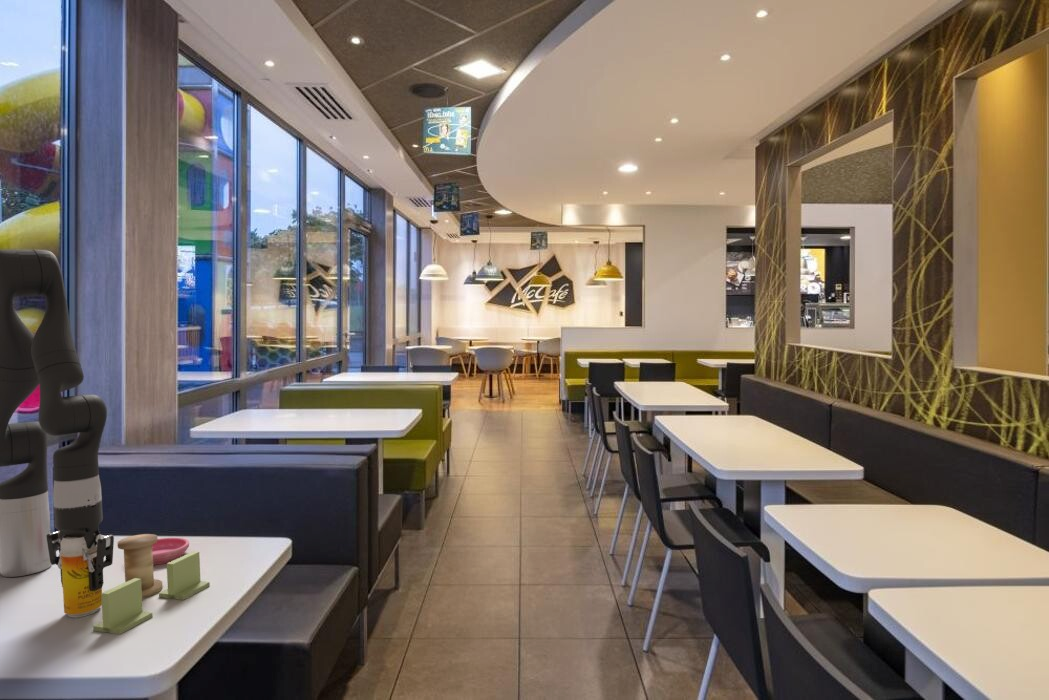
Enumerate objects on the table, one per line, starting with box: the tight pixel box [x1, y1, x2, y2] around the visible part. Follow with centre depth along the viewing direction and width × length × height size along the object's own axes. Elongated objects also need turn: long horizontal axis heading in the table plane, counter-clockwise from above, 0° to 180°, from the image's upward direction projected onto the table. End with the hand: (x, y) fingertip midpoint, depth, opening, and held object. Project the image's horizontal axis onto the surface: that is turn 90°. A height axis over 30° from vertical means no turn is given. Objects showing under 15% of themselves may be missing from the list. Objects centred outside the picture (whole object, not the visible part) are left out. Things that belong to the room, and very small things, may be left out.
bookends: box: [92, 550, 211, 635], centre depth 126 cm, size 6×22×7 cm, turn 164°
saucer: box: [152, 537, 190, 566], centre depth 153 cm, size 12×12×3 cm
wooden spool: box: [117, 533, 164, 599], centre depth 133 cm, size 8×8×11 cm
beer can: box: [60, 535, 103, 618], centre depth 124 cm, size 6×6×15 cm
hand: (82, 587), depth 124 cm, fingers closed on beer can, 6 cm apart
